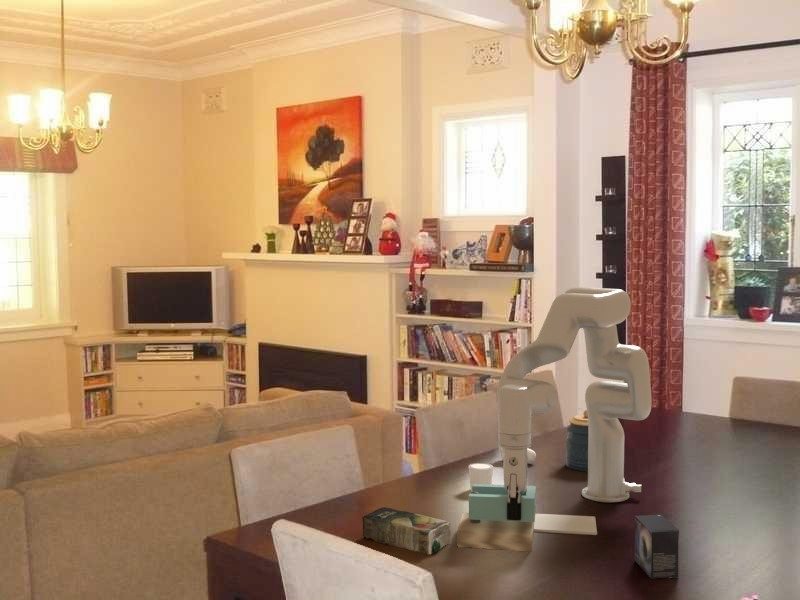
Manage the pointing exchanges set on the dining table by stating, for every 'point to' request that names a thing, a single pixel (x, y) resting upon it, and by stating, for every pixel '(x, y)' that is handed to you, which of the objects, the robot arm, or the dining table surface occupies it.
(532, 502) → the c link
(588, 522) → the mat
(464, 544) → the stand
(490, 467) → the shot glass
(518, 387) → the robot arm
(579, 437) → the canister
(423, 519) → the juice carton
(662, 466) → the dining table surface
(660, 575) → the small box
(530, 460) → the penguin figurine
